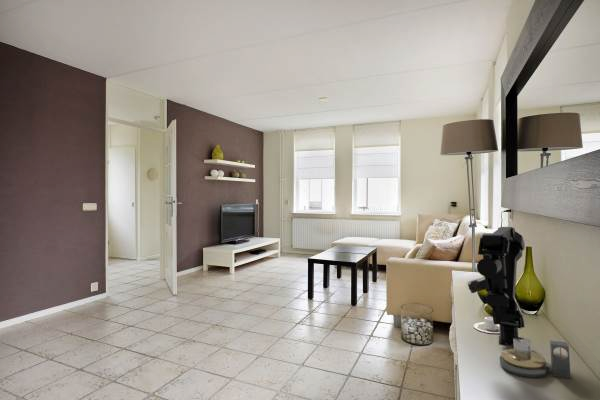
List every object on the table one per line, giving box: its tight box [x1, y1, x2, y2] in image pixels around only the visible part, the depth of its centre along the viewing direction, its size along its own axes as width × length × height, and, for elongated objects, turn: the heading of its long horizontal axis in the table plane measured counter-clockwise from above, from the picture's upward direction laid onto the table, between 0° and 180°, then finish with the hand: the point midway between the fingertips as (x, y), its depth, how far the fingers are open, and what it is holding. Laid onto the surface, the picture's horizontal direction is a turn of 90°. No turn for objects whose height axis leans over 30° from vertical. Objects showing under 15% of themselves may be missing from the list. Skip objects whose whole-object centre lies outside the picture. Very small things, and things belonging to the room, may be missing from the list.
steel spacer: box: [513, 336, 532, 360], centre depth 105 cm, size 4×4×5 cm
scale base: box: [499, 340, 572, 379], centre depth 103 cm, size 12×17×9 cm
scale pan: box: [501, 348, 547, 369], centre depth 104 cm, size 11×11×1 cm
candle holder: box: [473, 316, 500, 334], centre depth 137 cm, size 12×12×4 cm
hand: (498, 318), depth 114 cm, fingers open, 9 cm apart
